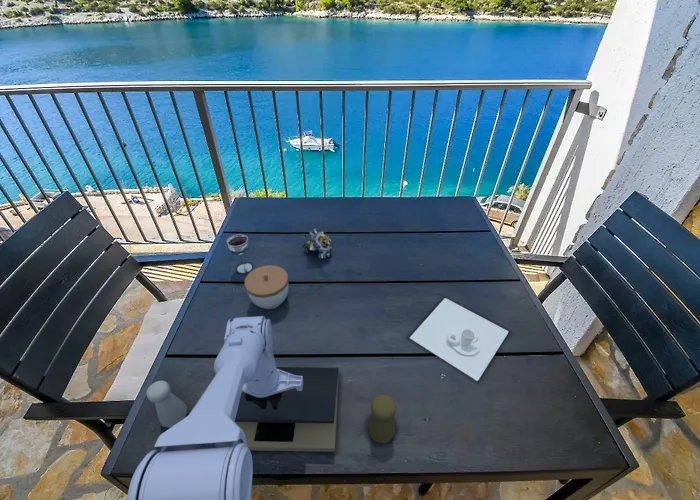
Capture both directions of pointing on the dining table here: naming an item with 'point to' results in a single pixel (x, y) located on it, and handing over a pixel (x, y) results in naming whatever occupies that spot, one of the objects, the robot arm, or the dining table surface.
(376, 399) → the olive peanut shape
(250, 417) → the panel
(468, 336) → the teacup and saucer
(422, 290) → the dining table surface
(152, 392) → the salt shaker
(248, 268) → the wineglass
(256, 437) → the netbook
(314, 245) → the passion flower
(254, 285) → the lidded bowl
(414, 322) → the dining table surface
